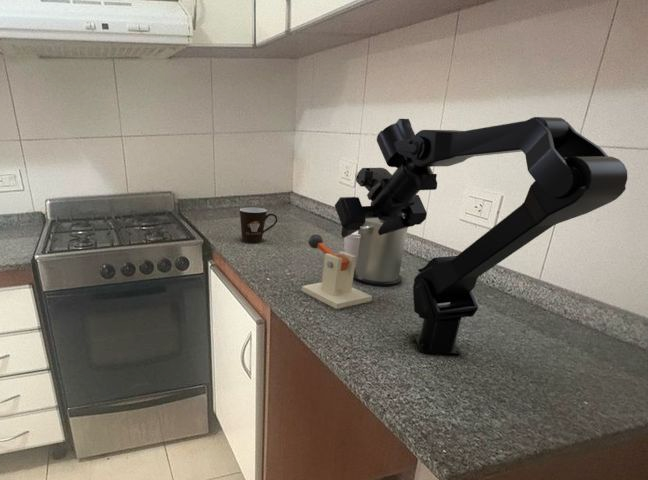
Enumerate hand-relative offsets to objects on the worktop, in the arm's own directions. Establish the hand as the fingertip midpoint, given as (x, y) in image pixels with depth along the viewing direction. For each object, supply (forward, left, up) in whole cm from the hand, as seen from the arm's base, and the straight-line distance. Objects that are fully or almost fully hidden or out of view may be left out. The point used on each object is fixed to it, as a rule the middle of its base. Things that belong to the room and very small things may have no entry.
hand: (361, 234), depth 96 cm
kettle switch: (+1, +7, -6) cm, 9 cm away
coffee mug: (+43, +26, -14) cm, 52 cm away
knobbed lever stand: (-3, +4, -14) cm, 15 cm away
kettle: (+11, -7, -14) cm, 19 cm away
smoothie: (+21, -2, -14) cm, 25 cm away
